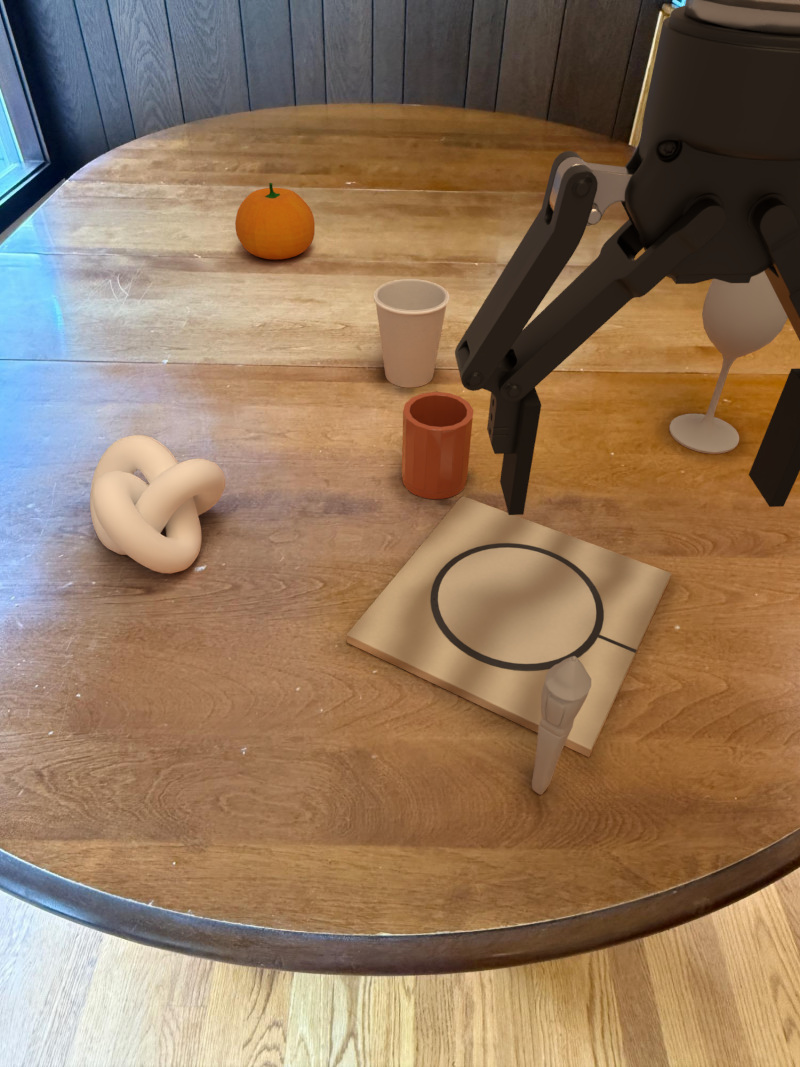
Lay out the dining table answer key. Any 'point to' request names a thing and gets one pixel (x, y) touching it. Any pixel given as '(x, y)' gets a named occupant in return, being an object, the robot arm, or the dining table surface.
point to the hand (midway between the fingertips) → (639, 494)
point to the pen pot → (436, 444)
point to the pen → (558, 716)
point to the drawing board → (513, 615)
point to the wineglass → (730, 352)
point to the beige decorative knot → (152, 502)
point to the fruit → (274, 223)
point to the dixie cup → (410, 329)
